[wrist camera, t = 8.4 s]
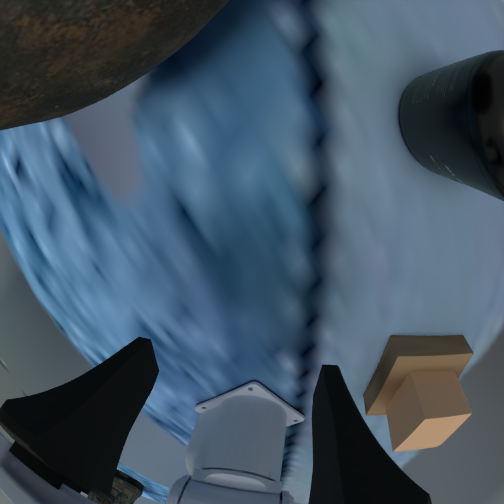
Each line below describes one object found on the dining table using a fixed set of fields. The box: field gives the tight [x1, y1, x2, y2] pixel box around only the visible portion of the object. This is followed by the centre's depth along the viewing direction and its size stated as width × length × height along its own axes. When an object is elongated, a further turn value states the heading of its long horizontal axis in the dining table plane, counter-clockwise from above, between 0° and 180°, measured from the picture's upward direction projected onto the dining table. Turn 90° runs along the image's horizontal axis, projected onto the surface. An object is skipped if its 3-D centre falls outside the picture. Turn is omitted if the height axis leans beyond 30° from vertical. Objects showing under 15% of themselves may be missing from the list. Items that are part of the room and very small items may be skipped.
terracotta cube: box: [385, 371, 472, 452], centre depth 17 cm, size 5×5×5 cm
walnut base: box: [363, 335, 473, 415], centre depth 20 cm, size 8×8×3 cm
